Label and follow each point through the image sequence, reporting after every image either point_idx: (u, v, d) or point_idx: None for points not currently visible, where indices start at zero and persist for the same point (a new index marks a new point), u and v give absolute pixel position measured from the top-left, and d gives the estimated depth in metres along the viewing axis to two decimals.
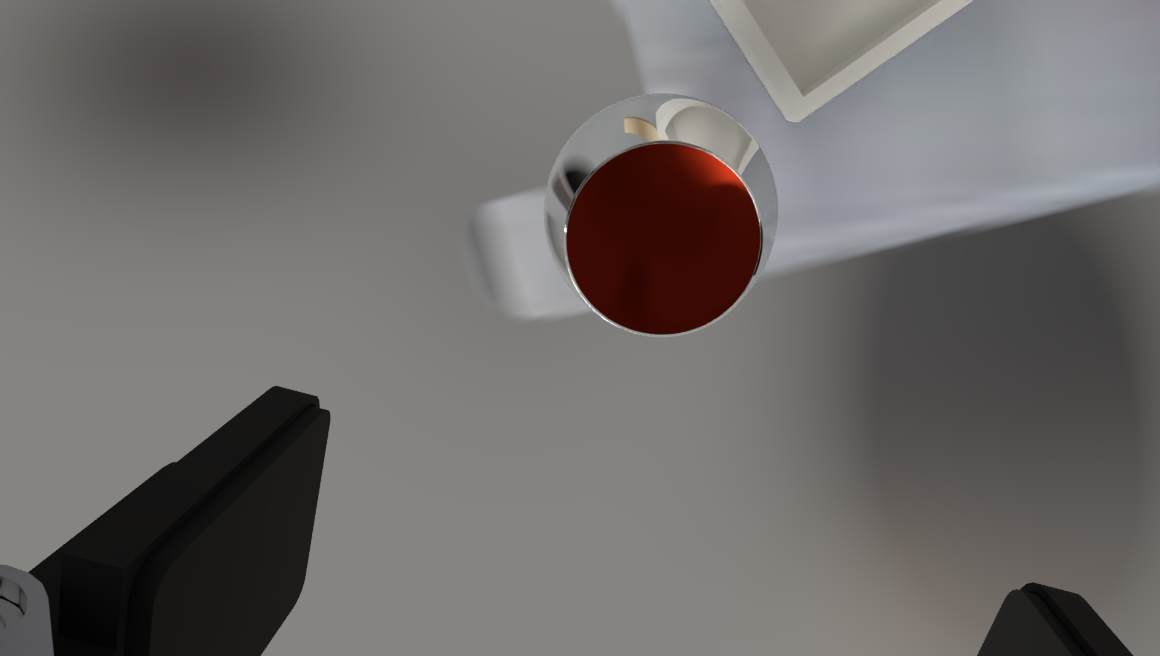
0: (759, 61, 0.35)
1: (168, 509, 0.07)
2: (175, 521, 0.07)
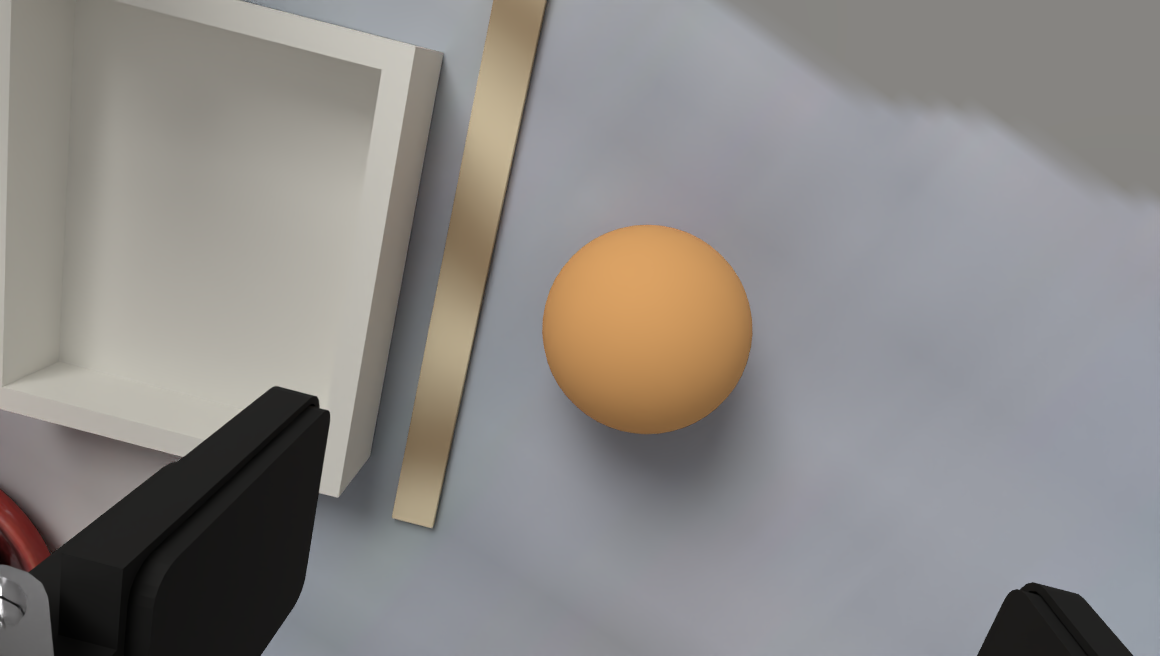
0: None
1: (168, 509, 0.07)
2: (176, 521, 0.07)
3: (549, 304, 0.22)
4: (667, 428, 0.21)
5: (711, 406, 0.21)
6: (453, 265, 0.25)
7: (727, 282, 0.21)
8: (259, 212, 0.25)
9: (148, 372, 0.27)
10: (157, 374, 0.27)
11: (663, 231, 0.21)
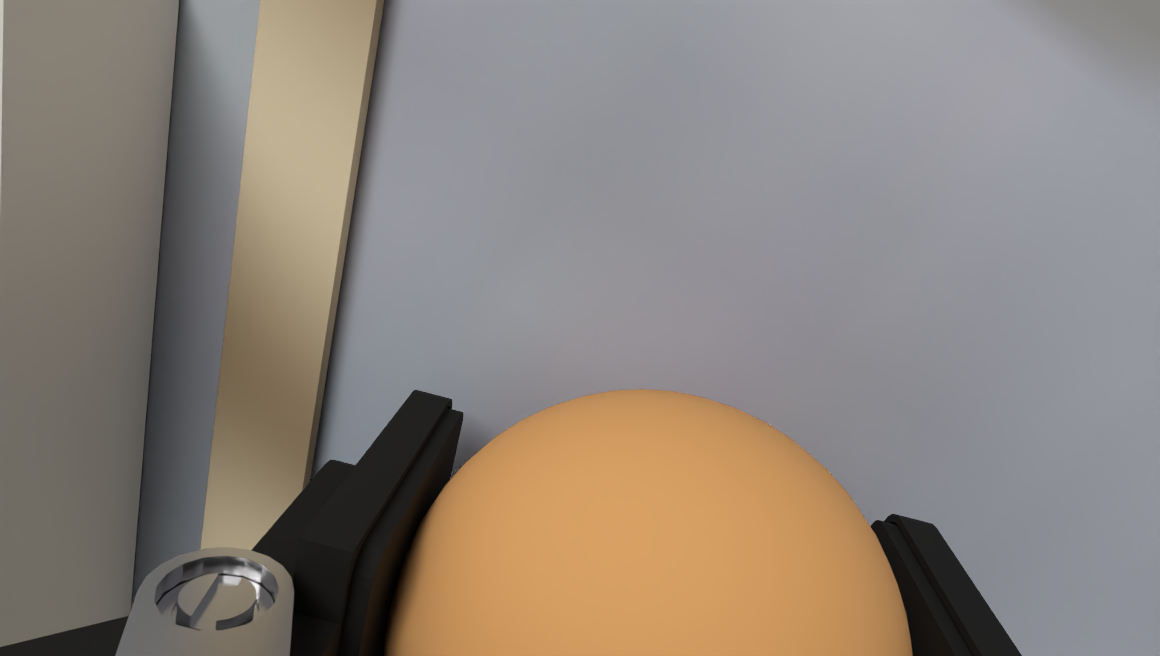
0: None
1: (369, 500, 0.08)
2: (378, 512, 0.08)
3: (392, 612, 0.08)
4: None
5: None
6: (237, 437, 0.12)
7: (865, 587, 0.07)
8: None
9: None
10: None
11: (686, 432, 0.08)
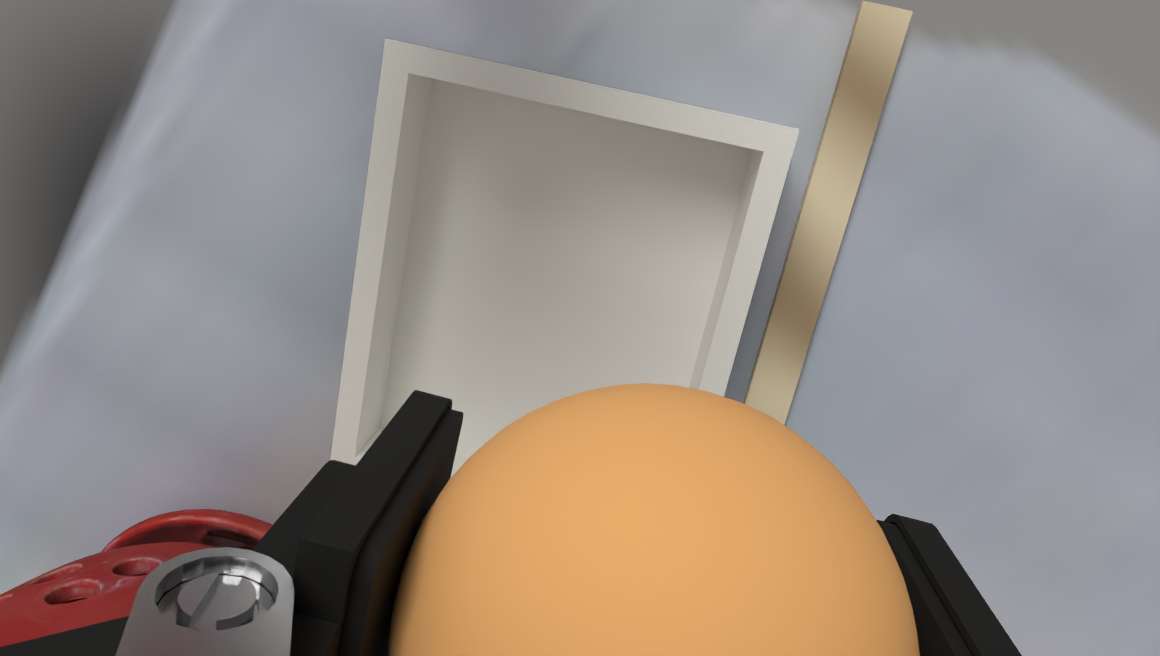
0: (495, 63, 0.22)
1: (369, 500, 0.08)
2: (378, 512, 0.08)
3: (396, 606, 0.08)
4: None
5: None
6: (779, 328, 0.26)
7: (873, 581, 0.07)
8: (592, 282, 0.26)
9: (468, 436, 0.28)
10: (476, 437, 0.28)
11: (692, 425, 0.08)
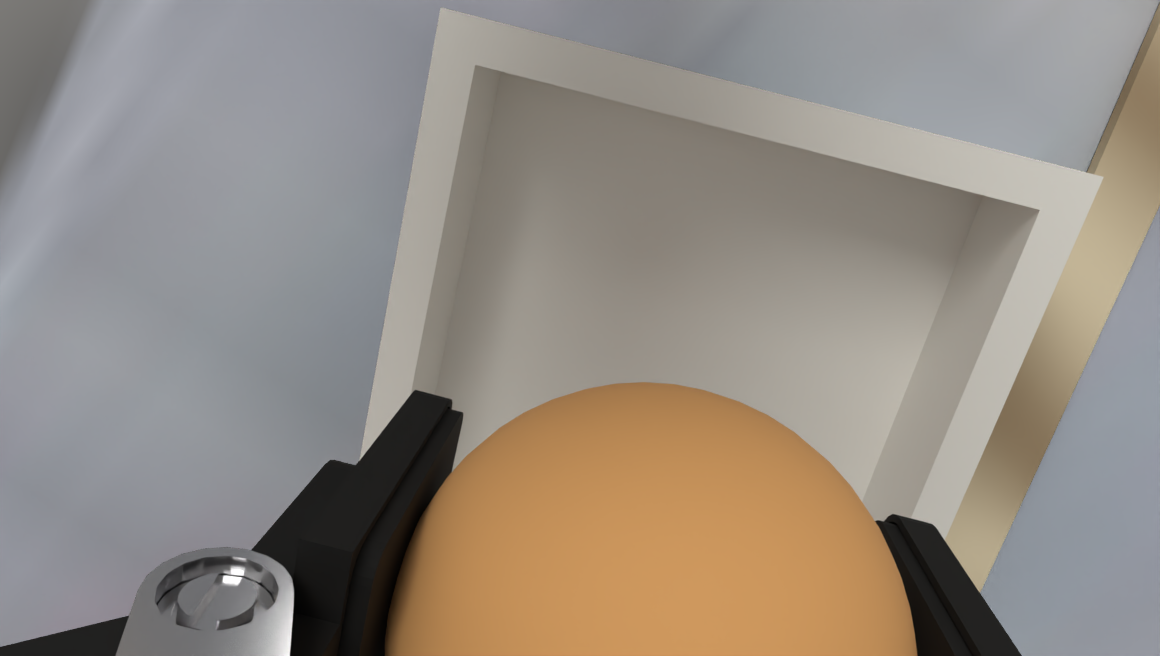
0: (616, 54, 0.14)
1: (369, 501, 0.08)
2: (378, 512, 0.08)
3: (392, 605, 0.08)
4: None
5: None
6: (990, 454, 0.18)
7: (868, 581, 0.07)
8: (721, 380, 0.18)
9: None
10: None
11: (689, 424, 0.08)
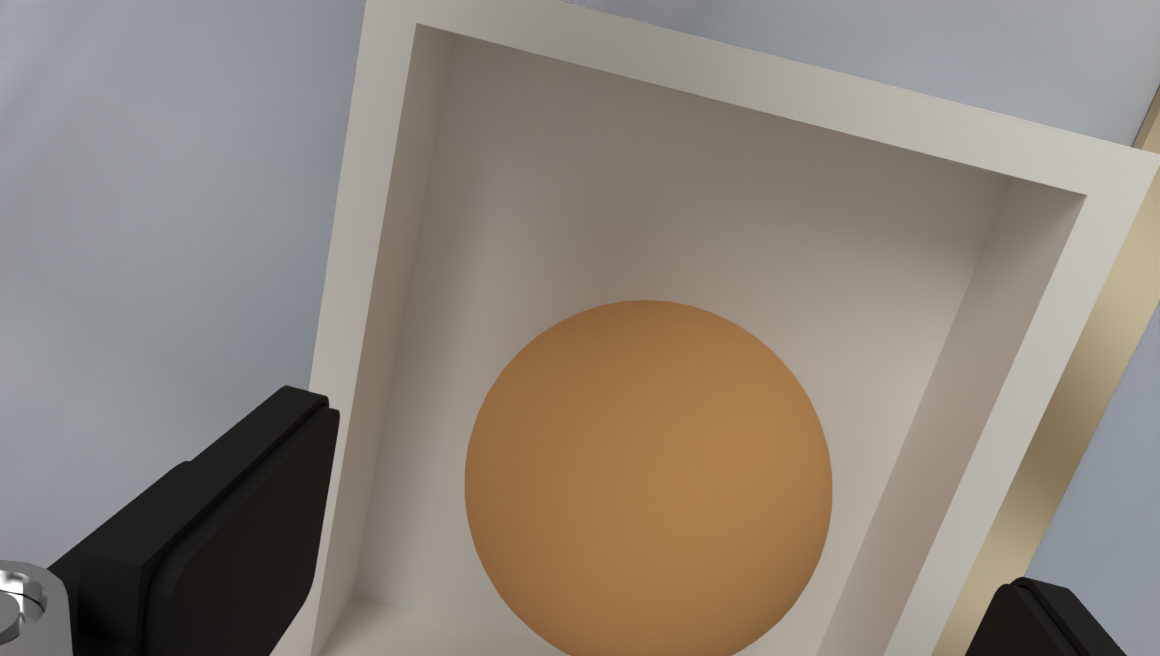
0: (585, 9, 0.11)
1: (184, 507, 0.07)
2: (192, 519, 0.07)
3: (472, 446, 0.12)
4: None
5: (763, 634, 0.12)
6: None
7: (794, 416, 0.11)
8: None
9: (492, 615, 0.18)
10: (505, 617, 0.18)
11: (675, 318, 0.12)
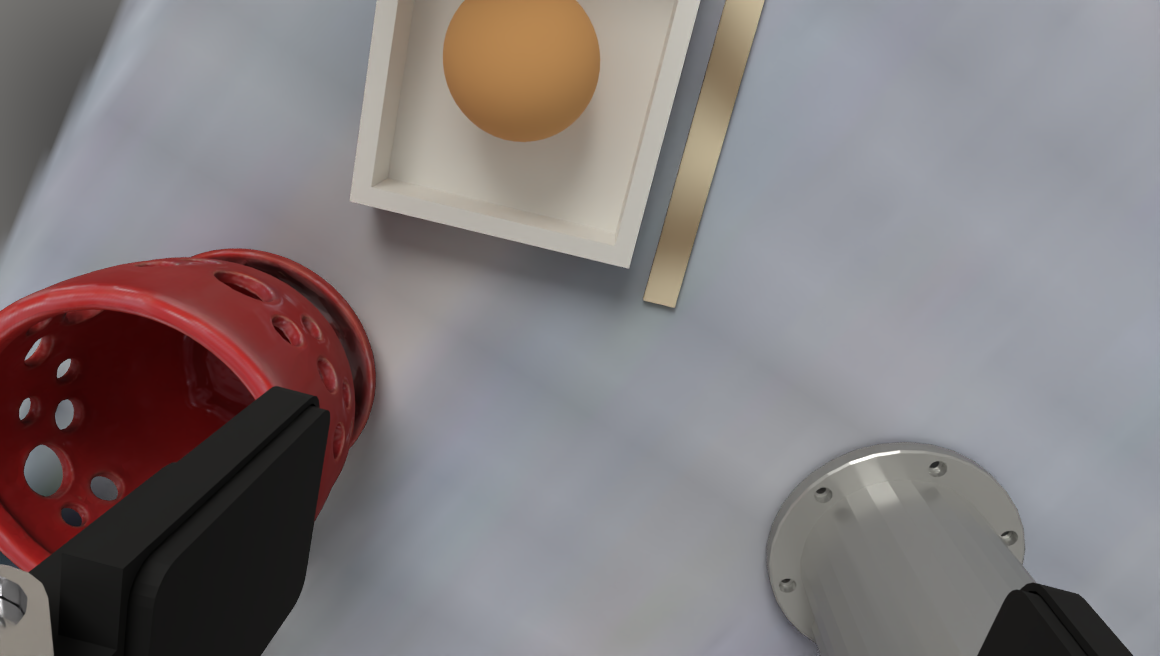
0: None
1: (168, 509, 0.07)
2: (176, 521, 0.07)
3: None
4: (534, 126, 0.29)
5: (566, 107, 0.29)
6: (710, 90, 0.33)
7: (574, 10, 0.28)
8: None
9: (460, 184, 0.35)
10: (467, 186, 0.35)
11: None
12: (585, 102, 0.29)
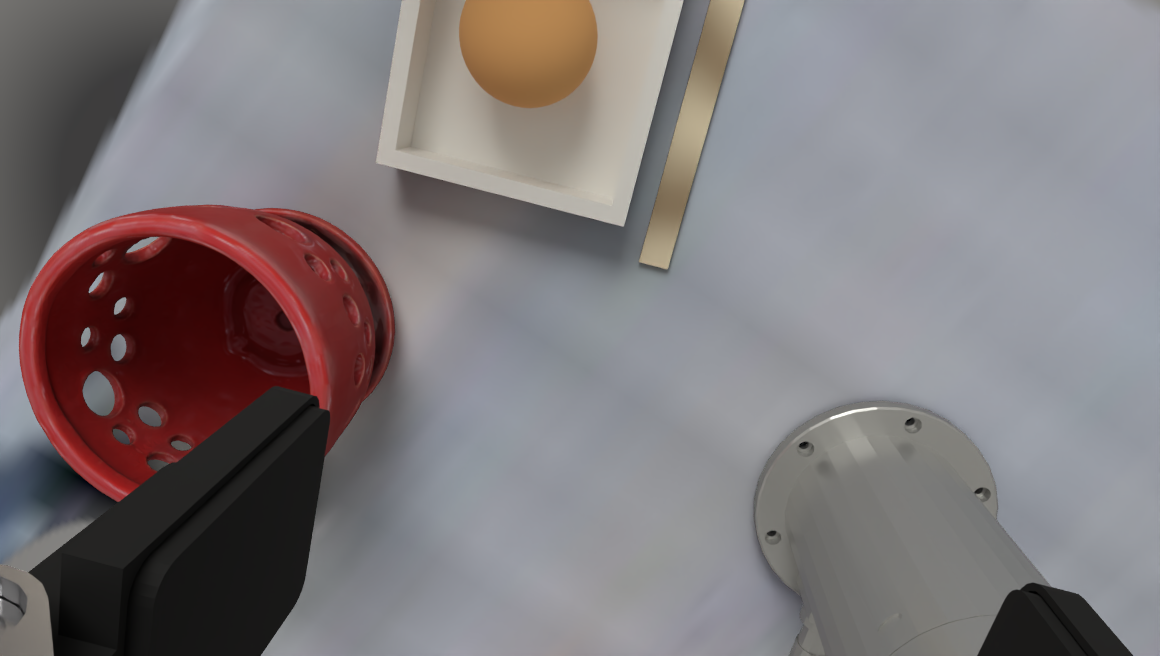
0: None
1: (168, 509, 0.07)
2: (176, 521, 0.07)
3: None
4: (536, 89, 0.33)
5: (564, 73, 0.32)
6: (700, 69, 0.37)
7: None
8: None
9: (475, 153, 0.39)
10: (481, 154, 0.39)
11: None
12: (582, 71, 0.33)
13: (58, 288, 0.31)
